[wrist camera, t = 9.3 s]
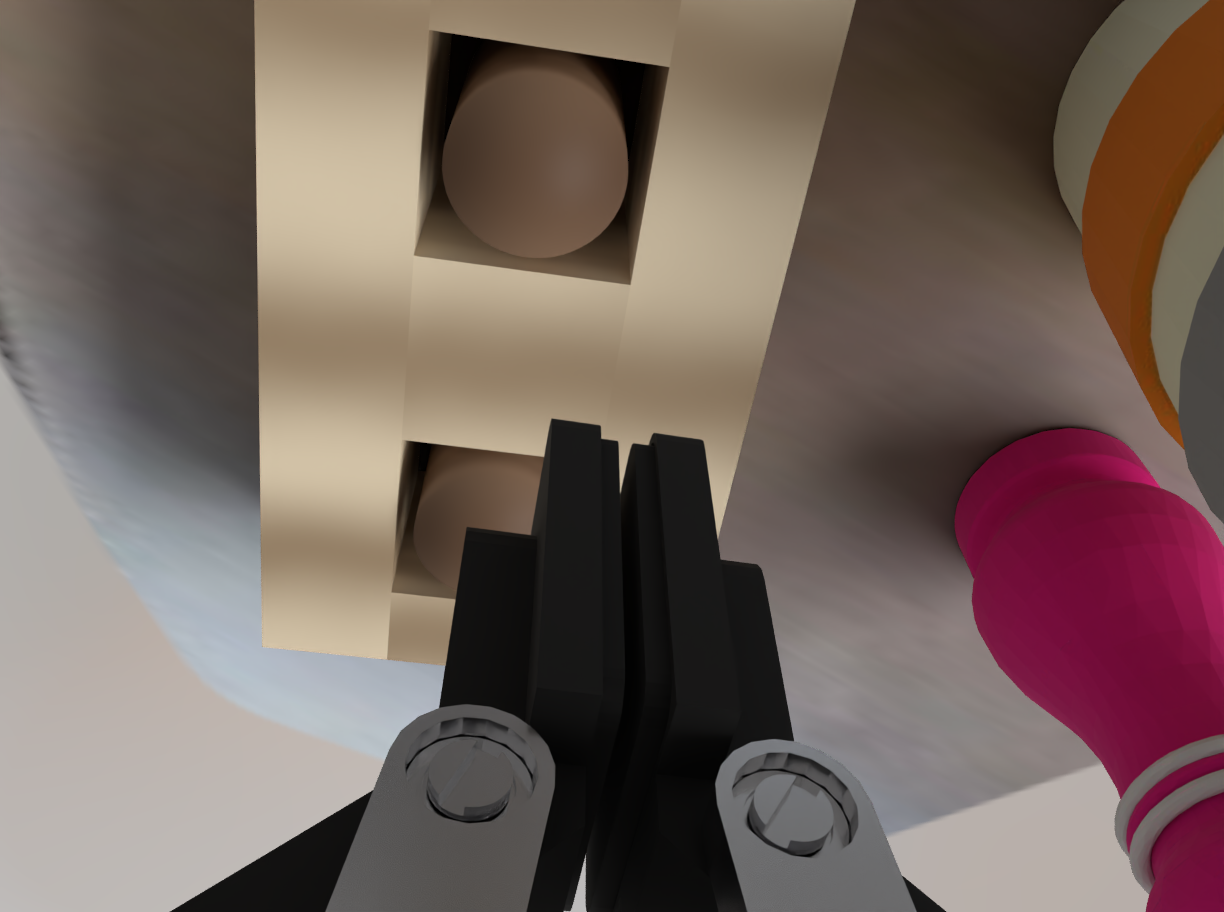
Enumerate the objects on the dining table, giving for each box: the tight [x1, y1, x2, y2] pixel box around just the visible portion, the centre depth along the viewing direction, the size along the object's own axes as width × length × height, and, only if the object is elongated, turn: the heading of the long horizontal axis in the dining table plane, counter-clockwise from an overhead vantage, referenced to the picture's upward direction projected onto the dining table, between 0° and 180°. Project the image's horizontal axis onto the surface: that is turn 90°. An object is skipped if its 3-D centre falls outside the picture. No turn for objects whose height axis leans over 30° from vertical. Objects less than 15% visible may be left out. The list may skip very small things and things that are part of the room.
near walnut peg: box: [442, 39, 628, 258], centre depth 27 cm, size 4×4×6 cm
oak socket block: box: [254, 0, 856, 665], centre depth 30 cm, size 20×12×6 cm, turn 171°
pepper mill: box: [955, 428, 1224, 912], centre depth 30 cm, size 7×7×20 cm
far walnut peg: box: [414, 443, 544, 591], centre depth 33 cm, size 4×4×6 cm
